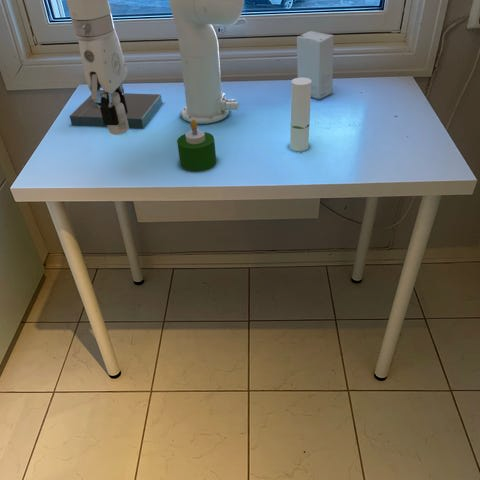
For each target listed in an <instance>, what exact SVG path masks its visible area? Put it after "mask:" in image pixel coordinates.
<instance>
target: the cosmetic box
mask: <svg viewBox="0 0 480 480" xmlns="http://www.w3.org/2000/svg"><path fill="white" fill-rule="evenodd" d="M334 41H335V35H334V34H329V33H323V32H318V31H313V30H310V31H307V32H305V33H302V34H300V35H298V36H297V37H296V71H297V72H296V73H297V76H296V78H300V77H304V78H309V79H311V98H313V99H316V100H321V99H324V98H325V97H327V96H330V95H332V94H333V81H334V80H333V78H334V75H333V74H334V45H335V43H334Z"/></svg>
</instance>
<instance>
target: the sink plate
mask: <svg viewBox="0 0 480 480" xmlns="http://www.w3.org/2000/svg"><path fill="white" fill-rule="evenodd" d="M122 95H124V97H125V102H126V106H127V111H128V113H127V114H126V117H127V121H128V126H129V129H144V128H145V127H146V126H147V124H148V123H149V122H150V121H151V119H152V118H153V116H154V115H155V114H156V113H157V111H158V110H159V108H160V107H161V106H162V104H163V99H162V94H159V93H158V94H157V93H130V92H129V93H127V92H126V93H125V92H124V94H122ZM101 96H103V94H101ZM69 120H70V123H71V126H77V127H78V126H79V127H80V126H81V127H101V128H108V126H107V125H105V124H104V122H103V118H102V114H101V110H100V107H98V104H97V103H96V102H94V101H92V99H91V95H89V97H87V98H86V99H85V100H84V101H83V102H82V103H81V104H80V105H79V106H78V107H77V108H76V109H75V110H74V111H73V112H72V113H71V114H70V115H69Z"/></svg>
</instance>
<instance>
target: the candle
mask: <svg viewBox="0 0 480 480" xmlns="http://www.w3.org/2000/svg"><path fill="white" fill-rule="evenodd" d="M190 129H191V130H188V131H186V133H183V134H181V135H180V136H179V137H178V138H177V139H176V140H177V141H176V143H177V151H178V159H179V164H180V167H181V168H182V169H183V170H185V171H187V172H204V171H207V170H210V169H212V168H214V166H215V165H216V164H217V155H216V144H215V137H214V135H213V134H212V133H209V132H207V131H203V130H201V129H198V123H197V122H196V121H195V120H192V121H191V122H190Z"/></svg>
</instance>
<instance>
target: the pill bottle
mask: <svg viewBox="0 0 480 480" xmlns="http://www.w3.org/2000/svg"><path fill="white" fill-rule="evenodd" d="M111 96H112V103H113V106H115V108H116V112H117V116H118V121H119V124H118V125H107V126H108V127H107V129H108V133H110V134H111V135H114V136H116V135H117V136H118V135H123V134H125V133H127V132H128V131H129V130H130V128H129V126H128V121H127V117H126V112H125V108H124V105H123V104H122V103H121V102H120V96H119V93H117V92H113V93H111ZM102 97H105V98H106V99H107V95H106V94H103V96H102Z"/></svg>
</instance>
